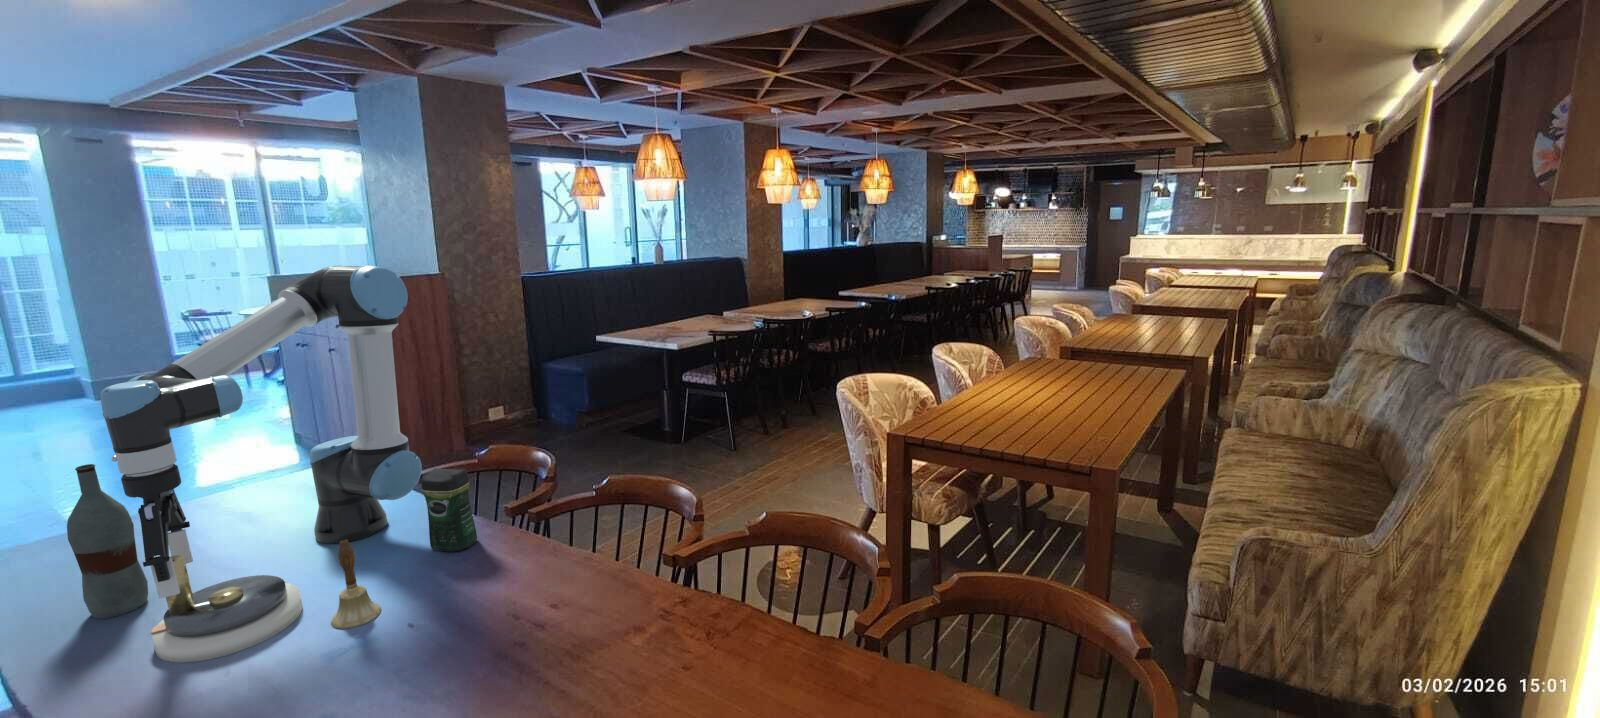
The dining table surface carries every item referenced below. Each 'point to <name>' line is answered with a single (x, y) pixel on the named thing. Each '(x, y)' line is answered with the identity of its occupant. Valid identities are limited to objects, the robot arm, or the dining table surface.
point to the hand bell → (352, 595)
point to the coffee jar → (449, 509)
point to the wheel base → (227, 634)
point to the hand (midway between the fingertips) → (176, 578)
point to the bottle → (105, 550)
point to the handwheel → (220, 603)
